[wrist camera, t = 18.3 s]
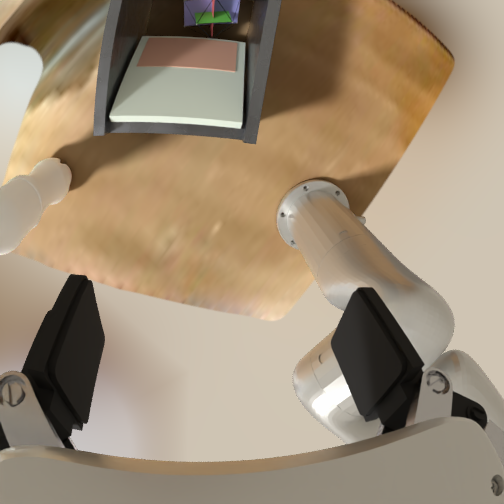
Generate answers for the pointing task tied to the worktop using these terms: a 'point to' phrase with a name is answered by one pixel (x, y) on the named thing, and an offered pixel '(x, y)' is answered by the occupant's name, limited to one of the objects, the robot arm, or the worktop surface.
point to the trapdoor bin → (125, 44)
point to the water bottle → (30, 200)
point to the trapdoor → (183, 82)
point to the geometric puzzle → (210, 13)
